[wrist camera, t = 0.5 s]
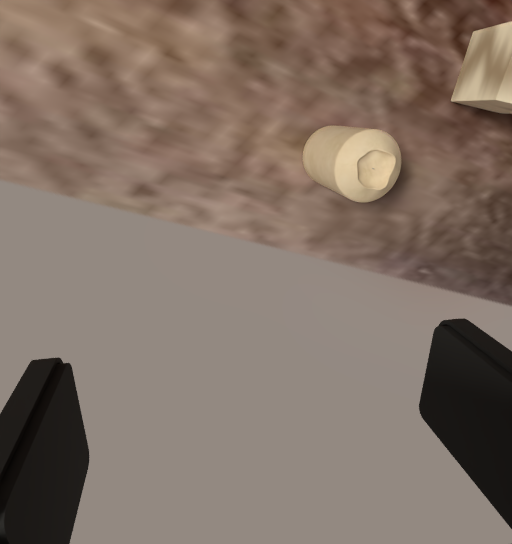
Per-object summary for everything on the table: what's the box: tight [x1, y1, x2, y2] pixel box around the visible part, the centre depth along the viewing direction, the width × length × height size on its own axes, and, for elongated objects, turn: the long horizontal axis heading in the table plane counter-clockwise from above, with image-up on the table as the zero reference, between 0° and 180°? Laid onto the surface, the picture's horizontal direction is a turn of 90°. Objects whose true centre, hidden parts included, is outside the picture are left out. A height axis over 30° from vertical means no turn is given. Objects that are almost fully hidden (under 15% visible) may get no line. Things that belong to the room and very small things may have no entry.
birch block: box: [451, 21, 512, 114], centre depth 35 cm, size 6×6×6 cm
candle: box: [303, 126, 401, 202], centre depth 33 cm, size 6×6×10 cm
